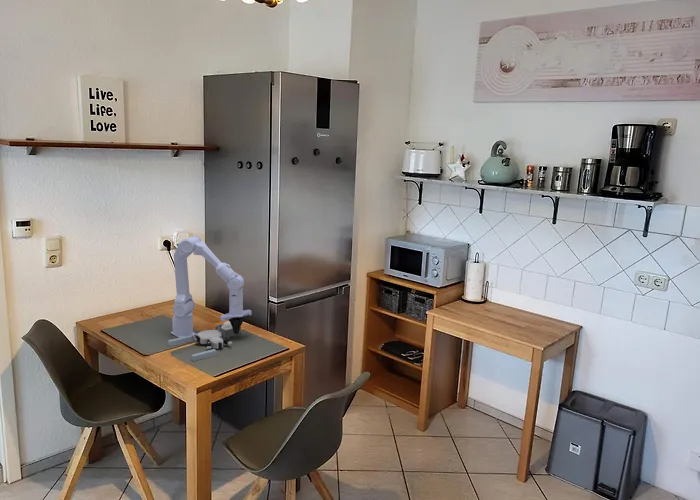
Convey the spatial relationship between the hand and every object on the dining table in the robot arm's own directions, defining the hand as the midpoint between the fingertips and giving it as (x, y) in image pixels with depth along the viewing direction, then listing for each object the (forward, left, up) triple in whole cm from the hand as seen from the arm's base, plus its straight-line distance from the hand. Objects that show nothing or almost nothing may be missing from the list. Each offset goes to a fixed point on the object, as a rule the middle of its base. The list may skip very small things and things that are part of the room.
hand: (236, 333), depth 234 cm
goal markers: (0, -21, -3) cm, 21 cm away
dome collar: (-8, +1, -3) cm, 9 cm away
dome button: (-8, +1, -2) cm, 8 cm away
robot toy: (0, -12, -3) cm, 12 cm away
